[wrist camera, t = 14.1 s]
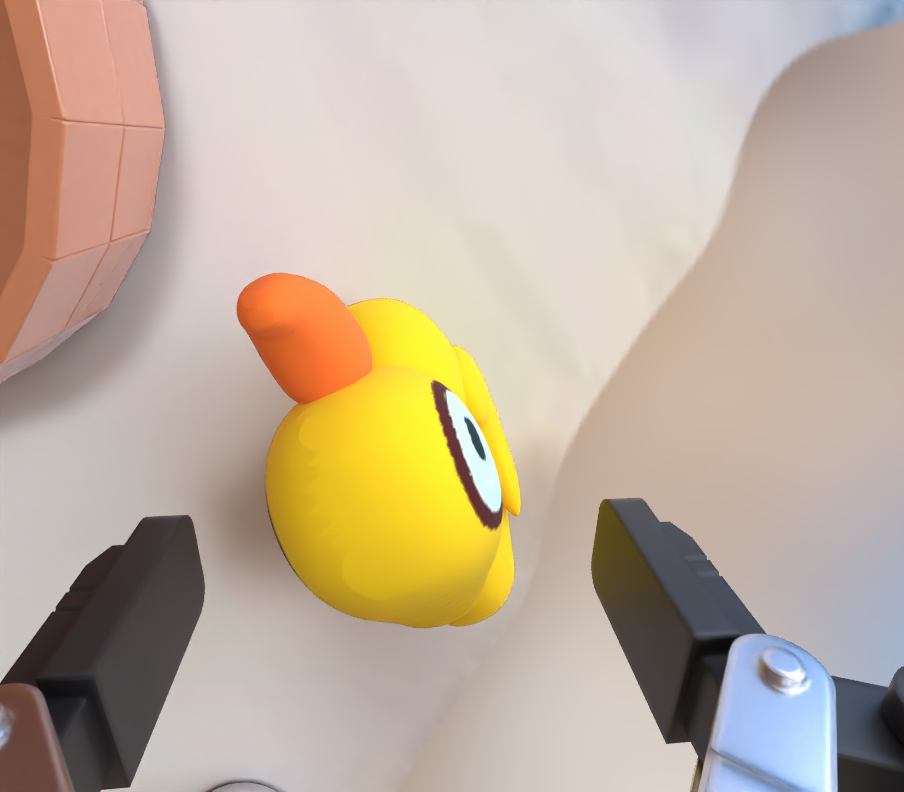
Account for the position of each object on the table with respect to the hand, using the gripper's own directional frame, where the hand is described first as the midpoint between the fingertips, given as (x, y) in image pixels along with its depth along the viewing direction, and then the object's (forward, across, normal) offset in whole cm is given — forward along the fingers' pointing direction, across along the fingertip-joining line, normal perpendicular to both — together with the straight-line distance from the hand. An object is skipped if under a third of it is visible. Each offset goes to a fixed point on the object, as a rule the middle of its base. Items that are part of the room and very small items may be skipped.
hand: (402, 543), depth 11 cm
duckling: (+9, 0, 0) cm, 9 cm away
